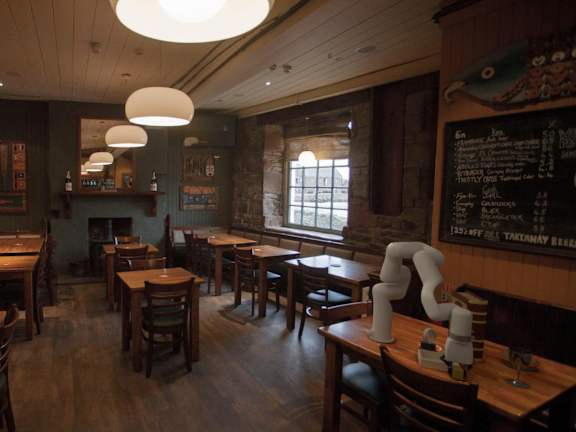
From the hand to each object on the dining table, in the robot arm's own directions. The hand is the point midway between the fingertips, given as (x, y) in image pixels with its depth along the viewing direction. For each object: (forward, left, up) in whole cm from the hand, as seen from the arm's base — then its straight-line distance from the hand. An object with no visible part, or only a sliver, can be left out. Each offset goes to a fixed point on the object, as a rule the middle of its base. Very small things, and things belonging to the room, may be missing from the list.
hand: (456, 376), depth 172 cm
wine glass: (+23, +7, -1) cm, 24 cm away
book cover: (+2, +13, +11) cm, 17 cm away
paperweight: (0, 0, 0) cm, 0 cm away
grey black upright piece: (-8, +32, -1) cm, 33 cm away
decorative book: (+9, +36, -1) cm, 37 cm away
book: (-6, +13, -1) cm, 14 cm away
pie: (+29, +29, -1) cm, 41 cm away
